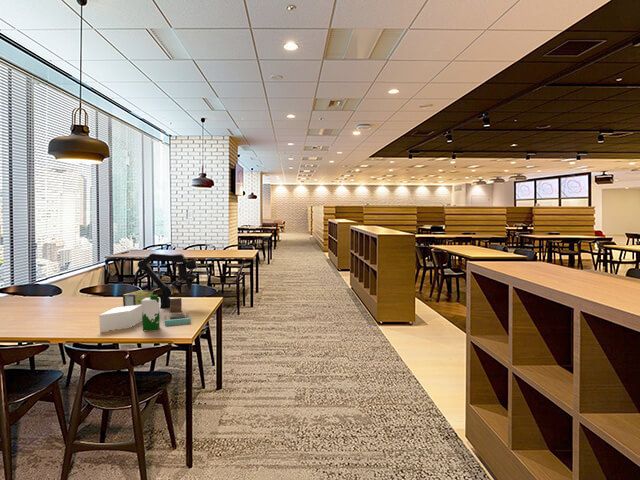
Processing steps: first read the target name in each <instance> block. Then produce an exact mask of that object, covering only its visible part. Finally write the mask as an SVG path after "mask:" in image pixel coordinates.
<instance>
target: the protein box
mask: <svg viewBox="0 0 640 480" xmlns="http://www.w3.org/2000/svg"><path fill="white" fill-rule="evenodd" d="M153 292H154V291H153V290H146V289H145V290H144V289H143V290H142V289H140V290H136V291H133V292H129V293H124V294H122V301H123V302H122V307H125V306H133V305H140V304H142V302H141V301H142V300H143V299H145V298H150V296H151V295H154V294H153Z"/></svg>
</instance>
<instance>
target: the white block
mask: <svg viewBox="0 0 640 480" xmlns="http://www.w3.org/2000/svg"><path fill="white" fill-rule="evenodd" d="M98 317H99V318H98V319H99V333H105V332H110V331H109V330H112V331H116V330H115V329H118V330H122V329H121V328H124V329H129V327H130V328H132V326H133V327H134V326H135V325H136V326H137V324H139V323H141V322H142V304H140V305H133V306H125V307H123V306H119V307H113V308H112V309H109V310H107V311H105V312H103V313H100V314H99V315H98Z"/></svg>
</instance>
